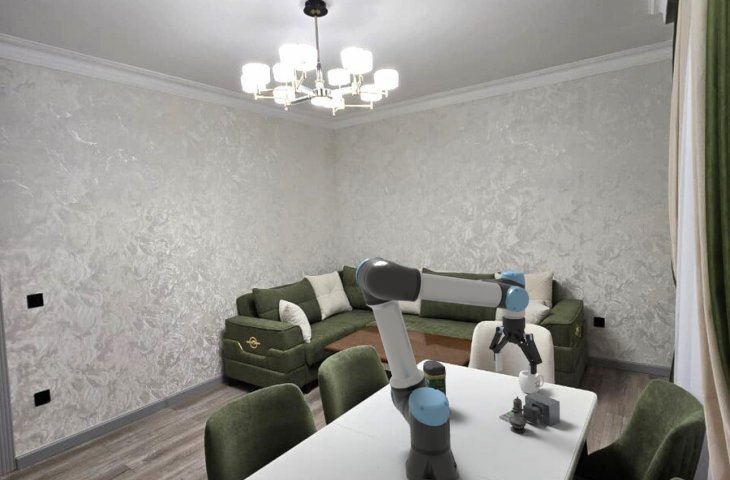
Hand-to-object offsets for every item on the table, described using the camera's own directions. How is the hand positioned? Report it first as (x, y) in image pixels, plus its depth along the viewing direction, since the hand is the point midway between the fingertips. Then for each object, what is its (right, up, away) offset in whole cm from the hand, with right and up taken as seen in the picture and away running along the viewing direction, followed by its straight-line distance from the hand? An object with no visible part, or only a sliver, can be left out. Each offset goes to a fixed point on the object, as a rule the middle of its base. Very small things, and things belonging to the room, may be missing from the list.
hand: (514, 376), depth 141 cm
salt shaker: (+2, -19, +1) cm, 19 cm away
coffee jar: (-24, -19, +19) cm, 36 cm away
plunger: (+9, -17, +9) cm, 21 cm away
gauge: (+8, -18, +7) cm, 21 cm away
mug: (+20, -17, +32) cm, 41 cm away
